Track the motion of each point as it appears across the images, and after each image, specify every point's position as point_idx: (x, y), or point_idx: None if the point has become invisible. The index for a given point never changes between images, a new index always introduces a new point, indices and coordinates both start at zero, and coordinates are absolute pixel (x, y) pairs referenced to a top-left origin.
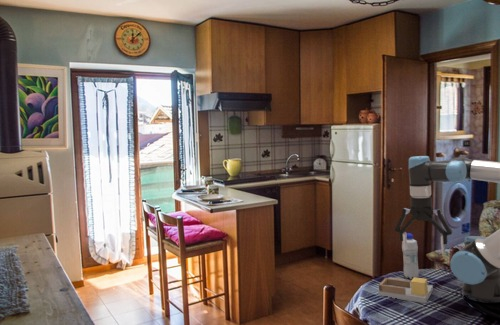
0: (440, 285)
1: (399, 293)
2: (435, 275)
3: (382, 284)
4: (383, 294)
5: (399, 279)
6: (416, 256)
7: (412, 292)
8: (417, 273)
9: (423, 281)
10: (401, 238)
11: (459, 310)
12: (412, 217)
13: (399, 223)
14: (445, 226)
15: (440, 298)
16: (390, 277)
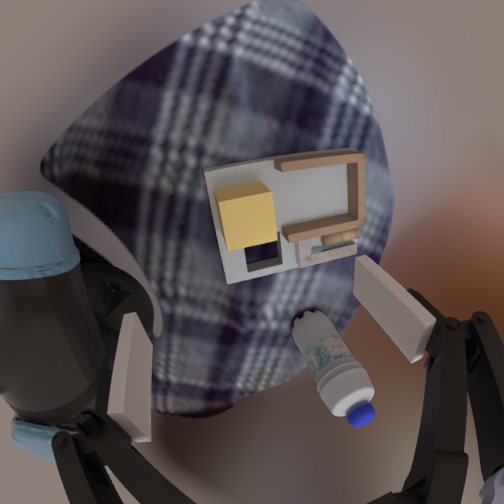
0: (222, 318)
1: (292, 157)
2: (258, 362)
3: (357, 167)
4: (336, 150)
5: (326, 253)
6: (314, 370)
7: (256, 181)
8: (295, 332)
9: (228, 218)
10: (418, 300)
11: (103, 181)
12: (458, 488)
13: (502, 367)
14: (81, 496)
15: (182, 232)
16: (352, 253)
